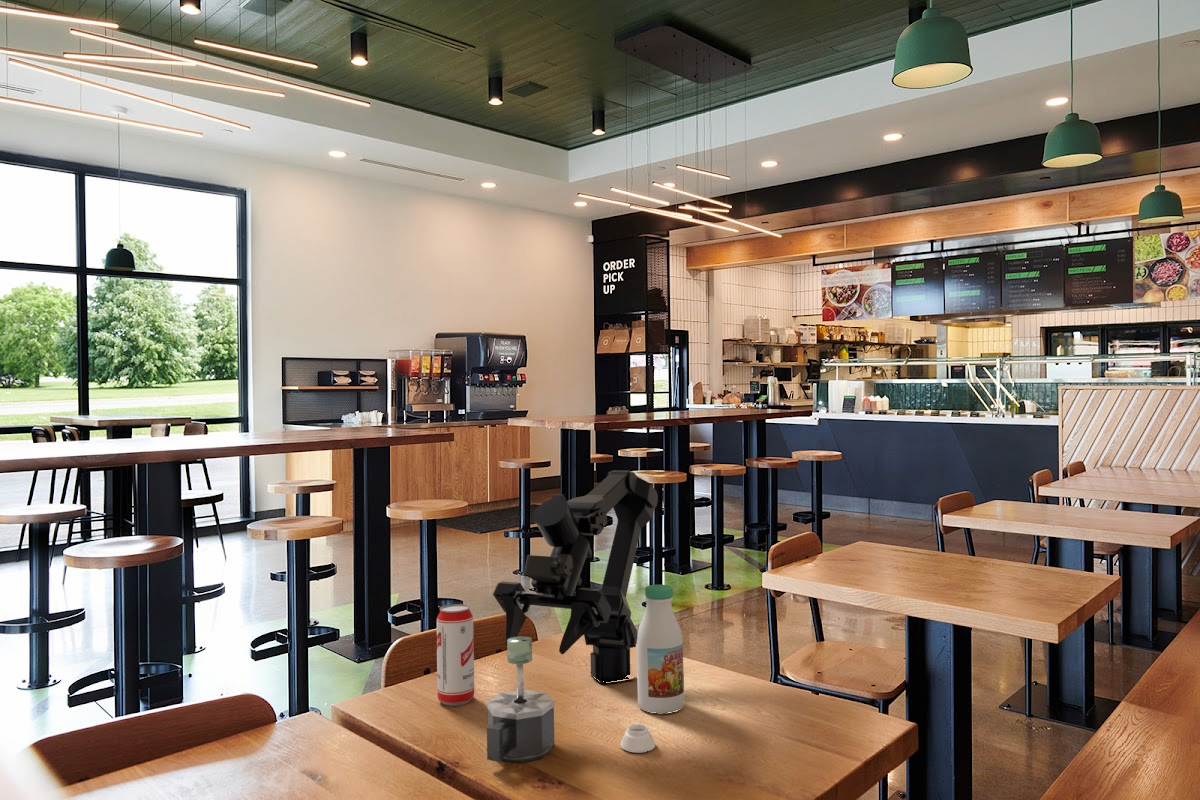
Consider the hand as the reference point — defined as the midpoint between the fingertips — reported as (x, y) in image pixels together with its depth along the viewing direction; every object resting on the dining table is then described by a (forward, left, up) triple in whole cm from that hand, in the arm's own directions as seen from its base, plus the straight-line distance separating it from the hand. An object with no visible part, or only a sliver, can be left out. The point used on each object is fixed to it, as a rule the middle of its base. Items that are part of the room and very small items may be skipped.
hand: (533, 649), depth 121 cm
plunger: (+3, +3, -7) cm, 8 cm away
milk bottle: (-23, -4, -14) cm, 27 cm away
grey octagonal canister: (+4, +4, -13) cm, 15 cm away
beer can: (+8, -21, -14) cm, 26 cm away
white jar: (-13, +9, -14) cm, 21 cm away
